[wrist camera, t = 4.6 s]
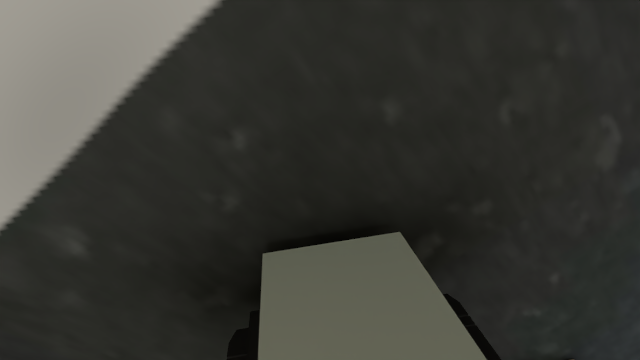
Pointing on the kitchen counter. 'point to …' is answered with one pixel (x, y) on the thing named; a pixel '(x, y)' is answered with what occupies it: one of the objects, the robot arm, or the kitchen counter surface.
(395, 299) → the sage block
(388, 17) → the kitchen counter surface
